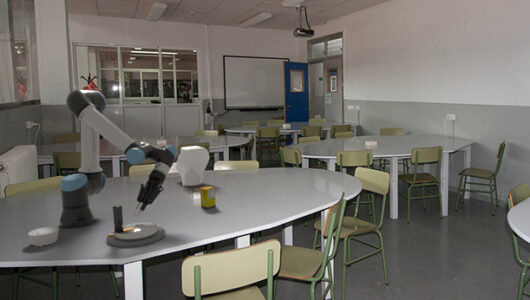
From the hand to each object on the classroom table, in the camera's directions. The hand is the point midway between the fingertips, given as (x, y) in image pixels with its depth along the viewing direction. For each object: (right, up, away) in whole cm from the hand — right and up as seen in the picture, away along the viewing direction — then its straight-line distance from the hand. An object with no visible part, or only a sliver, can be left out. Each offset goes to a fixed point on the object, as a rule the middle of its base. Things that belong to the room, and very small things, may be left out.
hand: (136, 216), depth 177 cm
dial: (+3, -6, -8) cm, 10 cm away
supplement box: (+27, -1, +38) cm, 47 cm away
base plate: (+3, -8, -8) cm, 11 cm away
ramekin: (-35, -9, -12) cm, 38 cm away
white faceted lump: (+7, +7, +102) cm, 103 cm away
